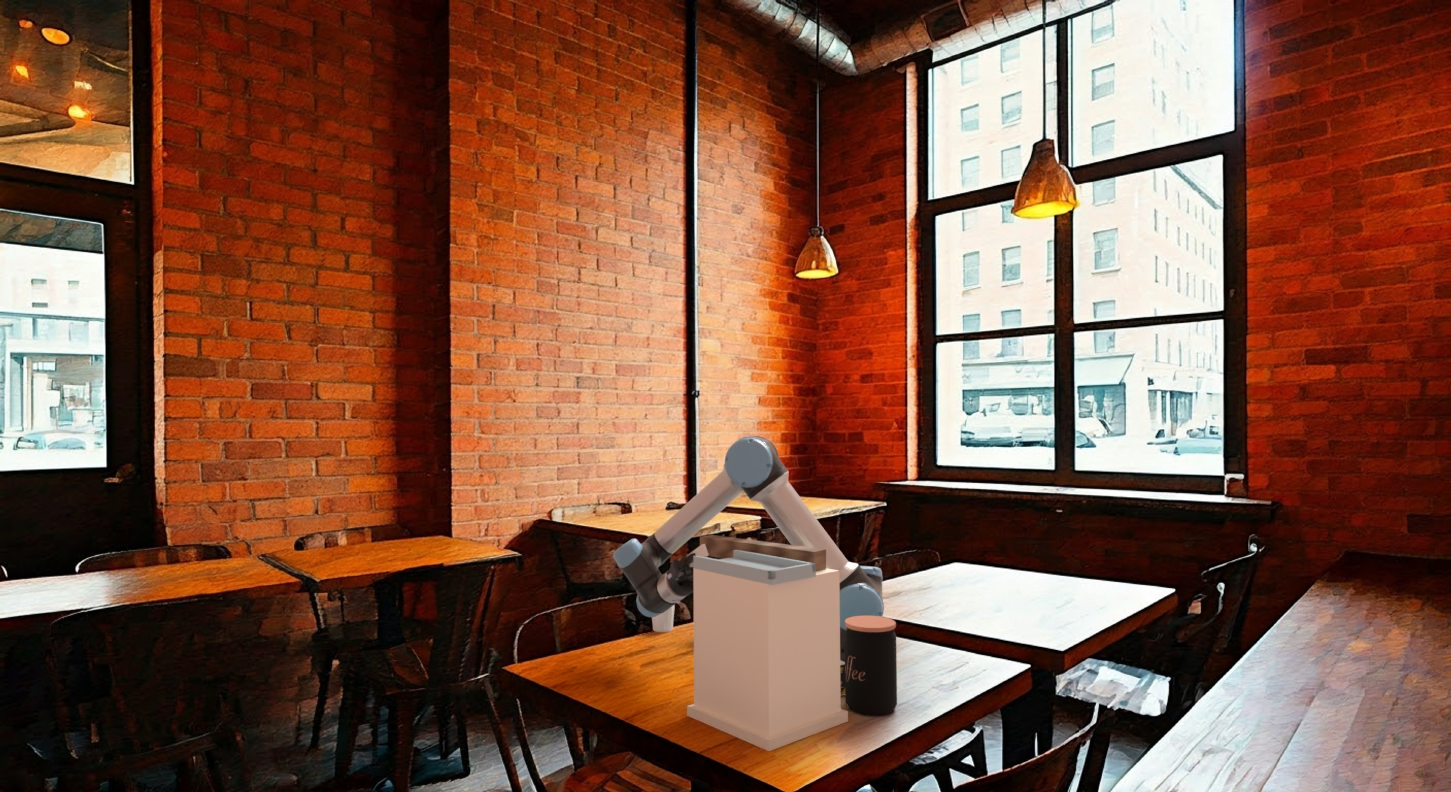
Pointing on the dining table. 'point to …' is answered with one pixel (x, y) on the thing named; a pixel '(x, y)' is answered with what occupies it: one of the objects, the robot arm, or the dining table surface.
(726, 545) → the walnut bar
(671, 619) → the white cup
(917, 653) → the dining table surface
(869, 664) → the coffee jar
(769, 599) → the plinth
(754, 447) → the robot arm
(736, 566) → the tray
